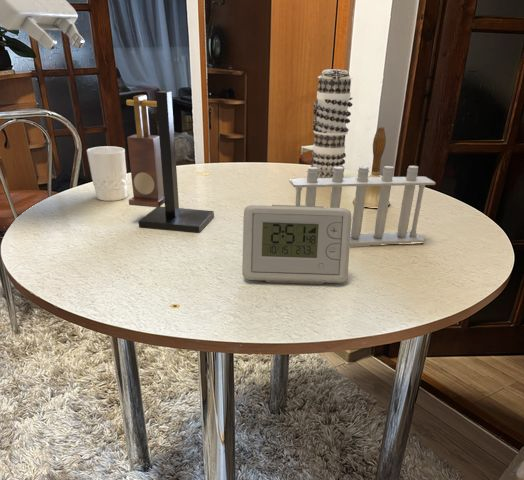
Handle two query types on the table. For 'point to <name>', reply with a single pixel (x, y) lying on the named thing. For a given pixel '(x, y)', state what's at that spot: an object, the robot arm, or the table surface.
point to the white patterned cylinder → (331, 121)
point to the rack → (170, 177)
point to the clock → (145, 161)
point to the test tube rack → (362, 183)
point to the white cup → (108, 172)
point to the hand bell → (375, 169)
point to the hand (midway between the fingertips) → (67, 45)
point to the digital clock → (296, 244)
